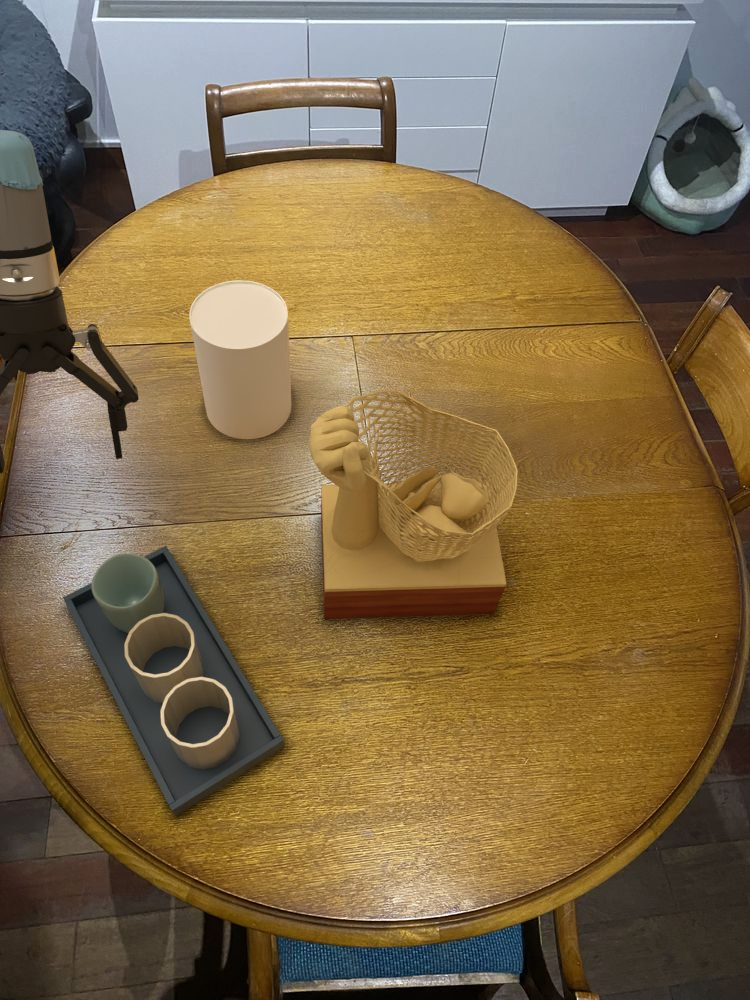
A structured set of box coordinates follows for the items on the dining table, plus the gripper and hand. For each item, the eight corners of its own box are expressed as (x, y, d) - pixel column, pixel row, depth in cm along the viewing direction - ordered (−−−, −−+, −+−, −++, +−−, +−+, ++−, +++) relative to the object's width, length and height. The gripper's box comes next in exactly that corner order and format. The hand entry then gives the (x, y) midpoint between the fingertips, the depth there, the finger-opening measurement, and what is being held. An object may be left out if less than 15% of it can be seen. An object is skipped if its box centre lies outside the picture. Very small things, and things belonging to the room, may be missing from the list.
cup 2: (130, 666, 101) (113, 634, 92) (186, 635, 104) (175, 601, 95) (157, 718, 97) (142, 690, 89) (215, 684, 100) (206, 654, 92)
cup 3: (162, 728, 97) (148, 700, 88) (221, 693, 100) (212, 664, 91) (192, 784, 93) (180, 761, 85) (252, 747, 96) (245, 721, 88)
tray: (69, 608, 105) (62, 597, 102) (169, 557, 110) (165, 545, 107) (176, 817, 91) (171, 811, 88) (284, 748, 96) (284, 740, 94)
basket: (311, 623, 106) (310, 473, 76) (309, 511, 115) (307, 340, 86) (493, 617, 108) (559, 469, 79) (475, 507, 118) (529, 340, 88)
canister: (201, 439, 121) (183, 347, 105) (210, 373, 129) (195, 278, 112) (289, 441, 122) (285, 350, 106) (293, 376, 130) (290, 282, 113)
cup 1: (97, 628, 102) (78, 594, 94) (130, 580, 107) (114, 543, 98) (149, 651, 101) (134, 618, 93) (180, 601, 105) (168, 566, 97)
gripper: (-113, 309, 78) (-56, 490, 90) (146, 292, 85) (168, 462, 96) (-99, 286, 84) (-48, 458, 96) (141, 272, 91) (162, 434, 102)
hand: (61, 460), depth 96 cm, fingers open, 13 cm apart
